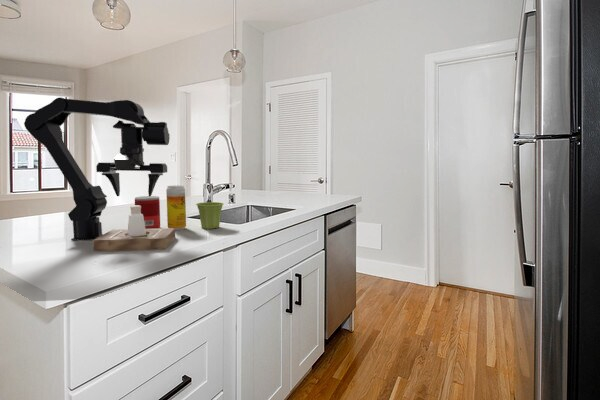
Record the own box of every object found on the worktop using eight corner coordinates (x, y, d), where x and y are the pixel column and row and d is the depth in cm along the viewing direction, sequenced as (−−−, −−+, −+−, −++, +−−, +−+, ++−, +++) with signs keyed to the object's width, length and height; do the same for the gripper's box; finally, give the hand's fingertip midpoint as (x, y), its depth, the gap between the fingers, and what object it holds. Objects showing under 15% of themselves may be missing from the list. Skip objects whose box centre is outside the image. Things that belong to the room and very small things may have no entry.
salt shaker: (129, 242, 102) (127, 204, 101) (149, 241, 103) (147, 204, 102) (124, 246, 97) (122, 207, 95) (146, 245, 98) (144, 206, 97)
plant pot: (199, 225, 129) (198, 201, 128) (225, 224, 130) (224, 201, 129) (194, 230, 119) (193, 205, 118) (222, 230, 120) (222, 205, 119)
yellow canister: (180, 231, 118) (178, 186, 116) (164, 230, 119) (162, 186, 117) (189, 227, 124) (188, 185, 122) (173, 226, 125) (172, 185, 123)
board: (93, 251, 92) (92, 239, 91) (113, 239, 105) (112, 229, 105) (165, 249, 94) (164, 237, 94) (175, 237, 108) (174, 227, 108)
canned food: (165, 227, 124) (164, 196, 123) (148, 231, 117) (147, 199, 116) (148, 225, 127) (146, 195, 126) (130, 229, 119) (129, 197, 118)
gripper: (85, 142, 95) (88, 199, 97) (157, 144, 97) (158, 199, 99) (103, 144, 106) (105, 195, 108) (167, 145, 108) (168, 195, 110)
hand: (134, 196), depth 106 cm, fingers open, 9 cm apart
